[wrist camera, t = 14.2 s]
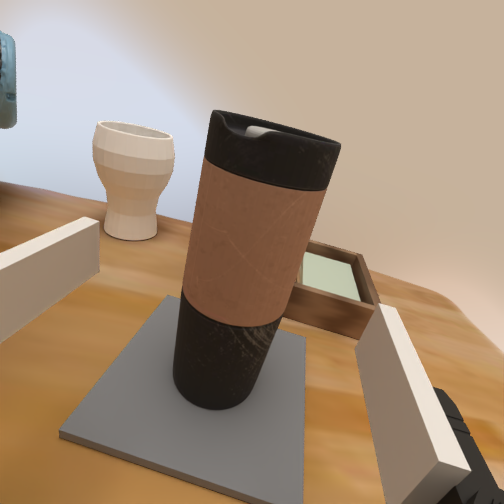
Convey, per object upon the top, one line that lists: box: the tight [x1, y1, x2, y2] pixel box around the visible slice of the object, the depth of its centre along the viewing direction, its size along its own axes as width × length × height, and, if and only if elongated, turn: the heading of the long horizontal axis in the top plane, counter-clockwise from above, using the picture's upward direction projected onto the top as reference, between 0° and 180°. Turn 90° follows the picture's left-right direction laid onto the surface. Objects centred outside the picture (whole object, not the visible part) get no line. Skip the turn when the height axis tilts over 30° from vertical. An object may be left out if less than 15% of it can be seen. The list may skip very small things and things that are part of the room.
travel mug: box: [173, 110, 341, 410], centre depth 21 cm, size 8×8×20 cm
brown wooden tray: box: [283, 240, 381, 340], centre depth 42 cm, size 22×16×4 cm
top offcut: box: [300, 252, 361, 302], centre depth 42 cm, size 8×11×1 cm
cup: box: [93, 121, 175, 240], centre depth 43 cm, size 11×11×15 cm
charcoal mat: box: [59, 295, 306, 504], centre depth 26 cm, size 16×16×1 cm
